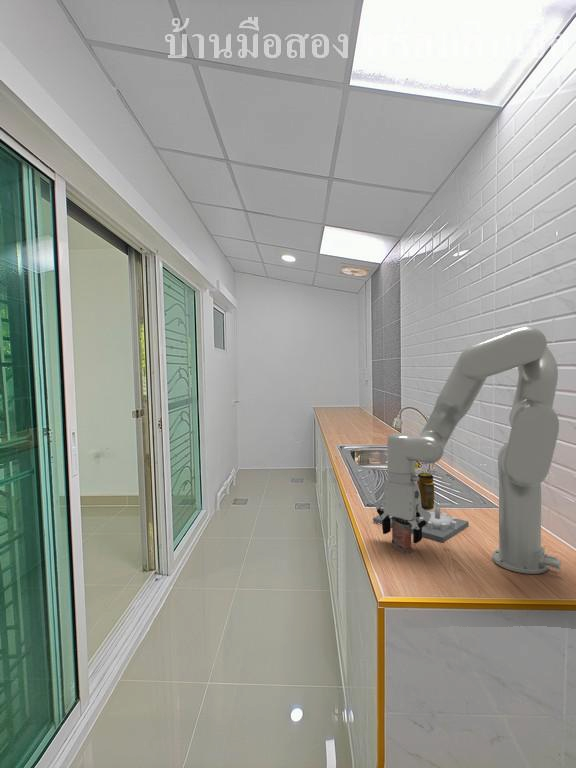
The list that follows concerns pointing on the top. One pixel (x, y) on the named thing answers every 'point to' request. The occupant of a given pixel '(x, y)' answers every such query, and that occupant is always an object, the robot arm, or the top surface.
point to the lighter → (401, 534)
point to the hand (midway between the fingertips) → (401, 537)
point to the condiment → (426, 491)
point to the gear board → (434, 531)
